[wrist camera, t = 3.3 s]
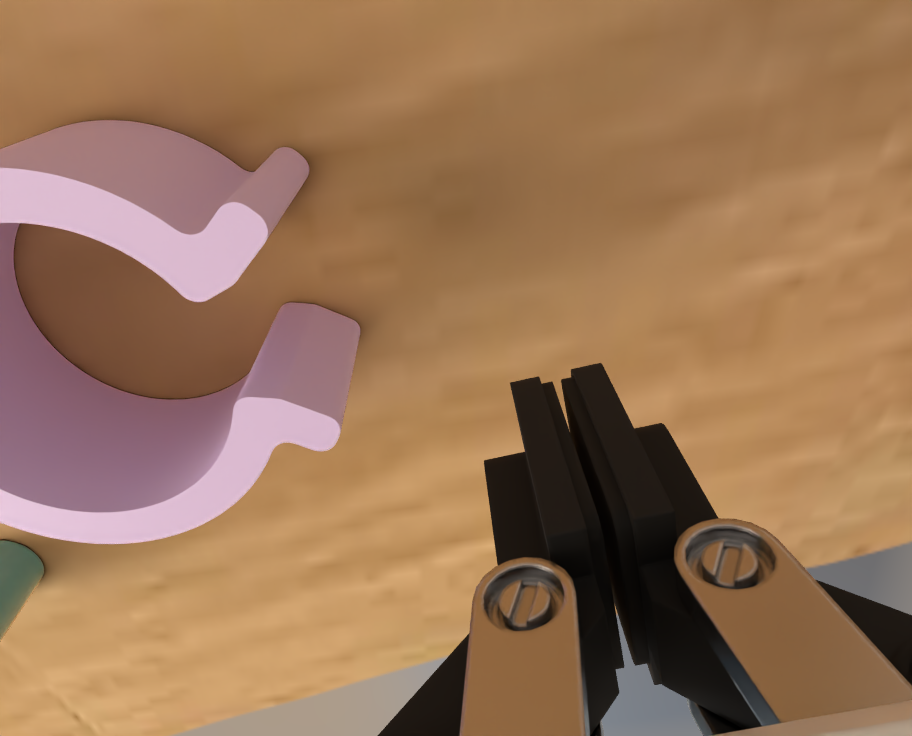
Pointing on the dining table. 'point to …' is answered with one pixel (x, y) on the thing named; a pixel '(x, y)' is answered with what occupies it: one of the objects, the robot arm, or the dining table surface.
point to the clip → (197, 279)
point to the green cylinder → (16, 580)
